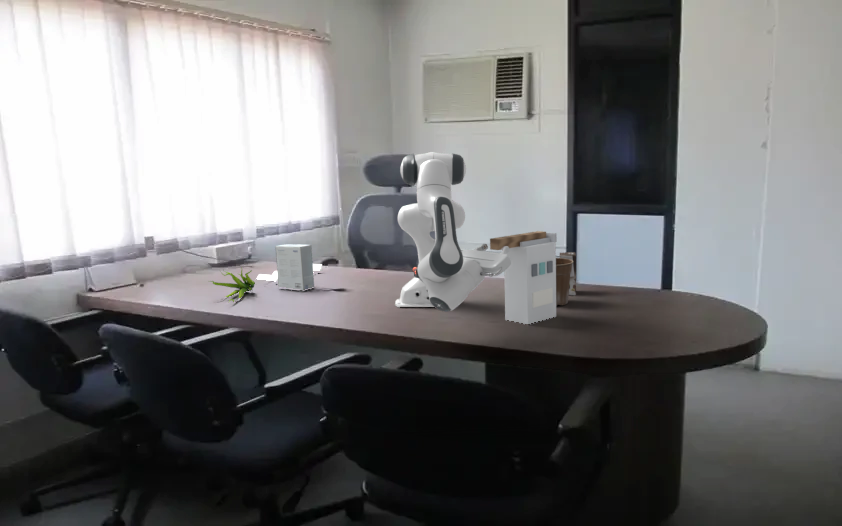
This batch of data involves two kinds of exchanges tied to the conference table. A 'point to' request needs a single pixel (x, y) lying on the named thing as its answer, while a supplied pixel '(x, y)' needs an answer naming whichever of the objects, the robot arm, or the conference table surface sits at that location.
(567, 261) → the plant pot
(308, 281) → the hard drive box
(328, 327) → the conference table surface
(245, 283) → the decorative plant
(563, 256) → the coffee box
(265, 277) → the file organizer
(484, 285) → the conference table surface
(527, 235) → the lever bar
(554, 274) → the switch console stand
